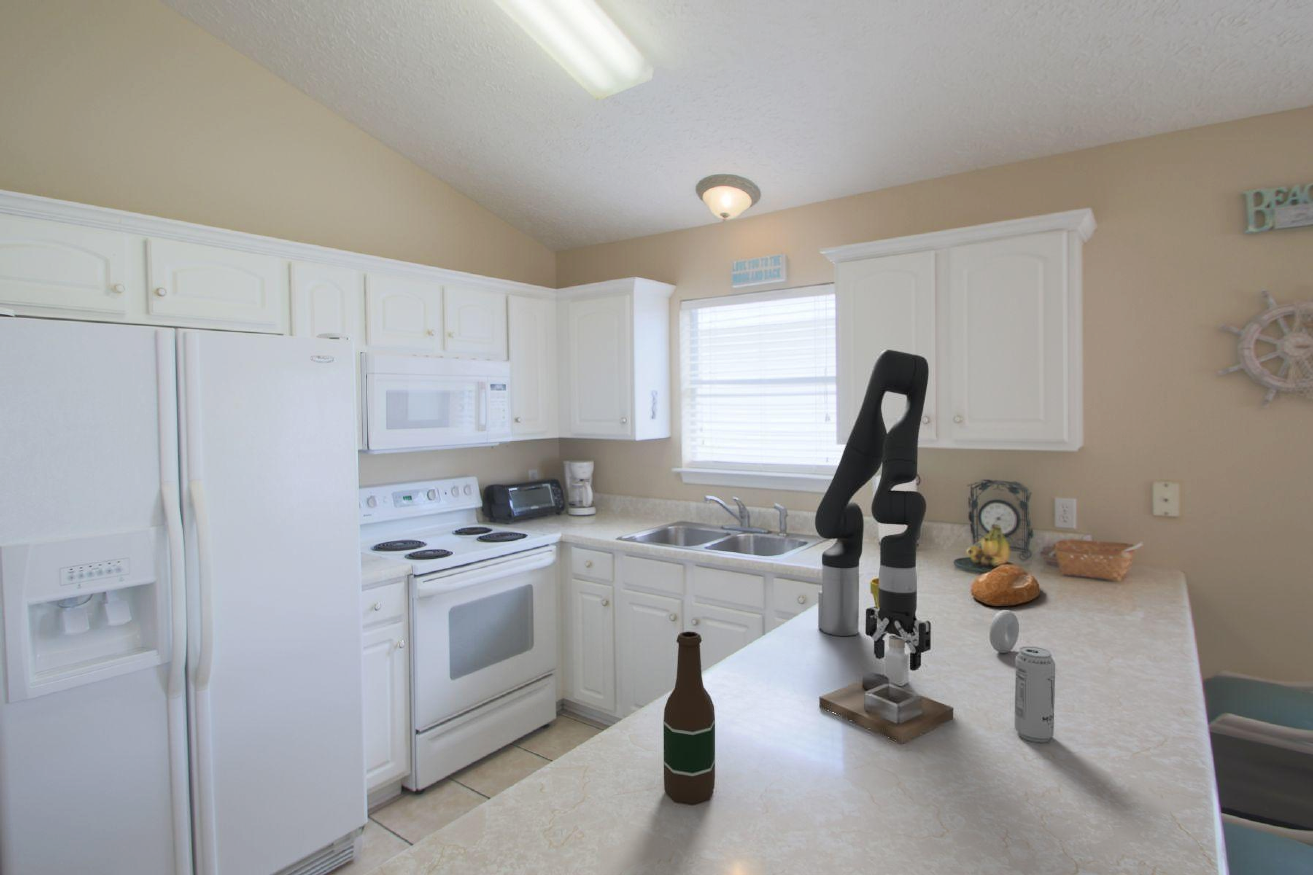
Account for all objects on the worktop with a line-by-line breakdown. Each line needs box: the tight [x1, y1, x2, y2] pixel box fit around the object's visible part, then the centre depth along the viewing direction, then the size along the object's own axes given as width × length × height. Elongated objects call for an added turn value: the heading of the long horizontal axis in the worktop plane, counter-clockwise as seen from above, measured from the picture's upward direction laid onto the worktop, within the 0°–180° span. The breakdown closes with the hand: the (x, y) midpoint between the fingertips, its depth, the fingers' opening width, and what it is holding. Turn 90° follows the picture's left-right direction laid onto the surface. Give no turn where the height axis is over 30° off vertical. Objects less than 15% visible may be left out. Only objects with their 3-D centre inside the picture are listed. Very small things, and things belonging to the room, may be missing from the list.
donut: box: [989, 609, 1020, 654], centre depth 159 cm, size 10×4×10 cm, turn 128°
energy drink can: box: [1013, 646, 1056, 743], centre depth 119 cm, size 6×6×15 cm
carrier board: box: [818, 672, 954, 745], centre depth 128 cm, size 18×16×5 cm
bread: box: [970, 564, 1041, 607], centre depth 207 cm, size 18×35×9 cm, turn 139°
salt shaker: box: [884, 634, 910, 687], centre depth 142 cm, size 4×4×10 cm
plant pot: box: [869, 577, 880, 609], centre depth 185 cm, size 10×10×10 cm
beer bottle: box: [662, 631, 716, 806], centre depth 102 cm, size 8×8×24 cm
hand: (896, 663), depth 142 cm, fingers open, 7 cm apart
